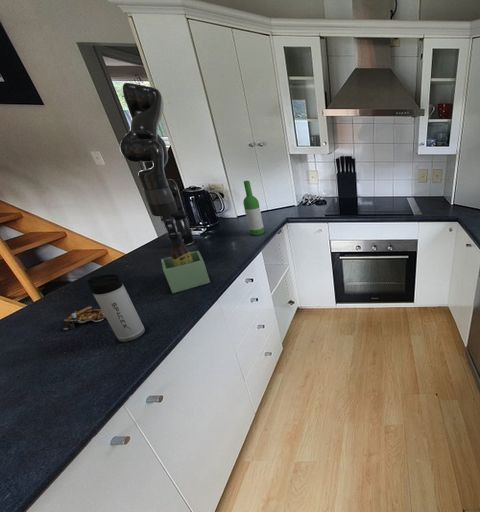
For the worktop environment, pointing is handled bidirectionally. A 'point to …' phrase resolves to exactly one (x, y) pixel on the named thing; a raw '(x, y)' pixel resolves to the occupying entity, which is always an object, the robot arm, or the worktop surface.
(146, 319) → the worktop surface
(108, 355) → the worktop surface
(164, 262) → the caddy
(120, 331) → the travel mug
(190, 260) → the sauce bottle
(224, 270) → the worktop surface
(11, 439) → the worktop surface
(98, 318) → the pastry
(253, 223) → the wine bottle
